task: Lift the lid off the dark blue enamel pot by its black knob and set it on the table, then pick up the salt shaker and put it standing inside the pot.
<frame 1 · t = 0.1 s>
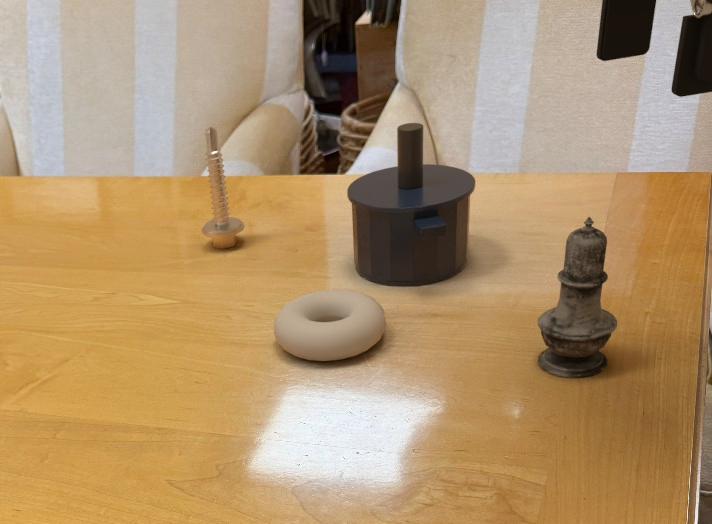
hand: (658, 73, 54), 23 cm above the table, tool pointing down, fingers open, 9 cm apart
donut: (330, 342, 82), on the table
lid: (410, 190, 89), point 7 cm above the table, touching pot
salt shaker: (571, 363, 74), on the table
screw: (225, 246, 104), on the table
pot: (410, 262, 93), on the table
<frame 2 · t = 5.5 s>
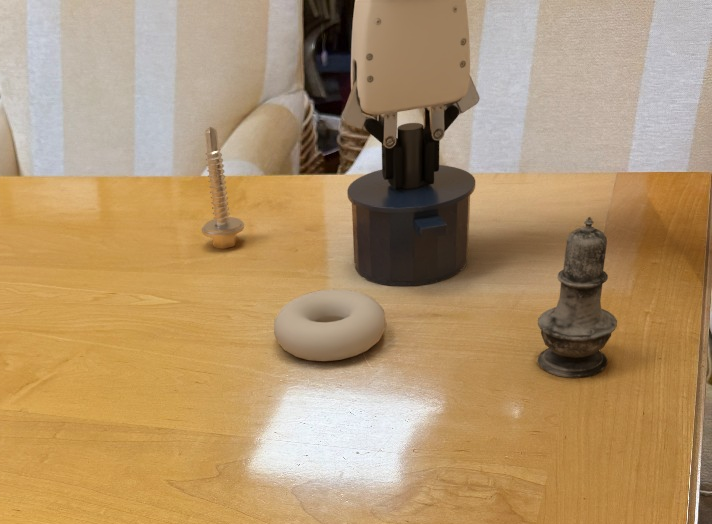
hand: (410, 181, 88), 8 cm above the table, tool pointing down, fingers closed on lid, 2 cm apart
lid: (410, 190, 89), point 8 cm above the table, touching gripper
everything else where it was.
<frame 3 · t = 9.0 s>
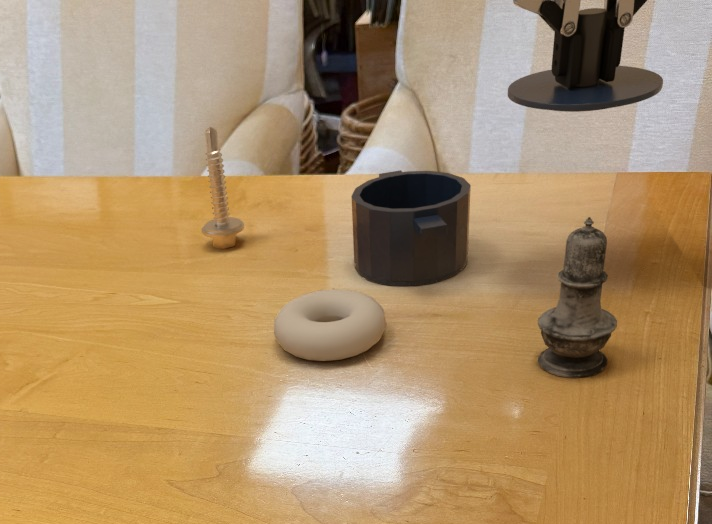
hand: (584, 79, 77), 17 cm above the table, tool pointing down, fingers closed on lid, 2 cm apart
lid: (582, 90, 77), point 16 cm above the table, touching gripper
everything else where it was.
when the fingers open (1 cm above the table, at t = 12.6 s): lid stays where it is, point 1 cm above the table.
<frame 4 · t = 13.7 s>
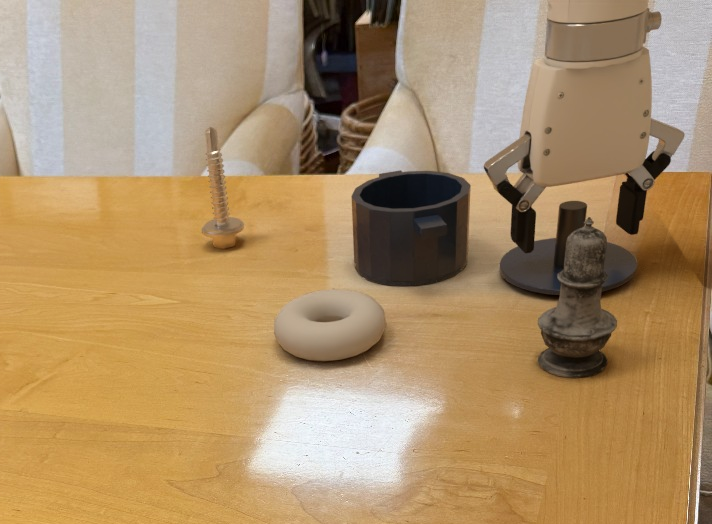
hand: (575, 238, 85), 3 cm above the table, tool pointing down, fingers open, 9 cm apart
lid: (566, 267, 86), point 1 cm above the table
everything else where it was.
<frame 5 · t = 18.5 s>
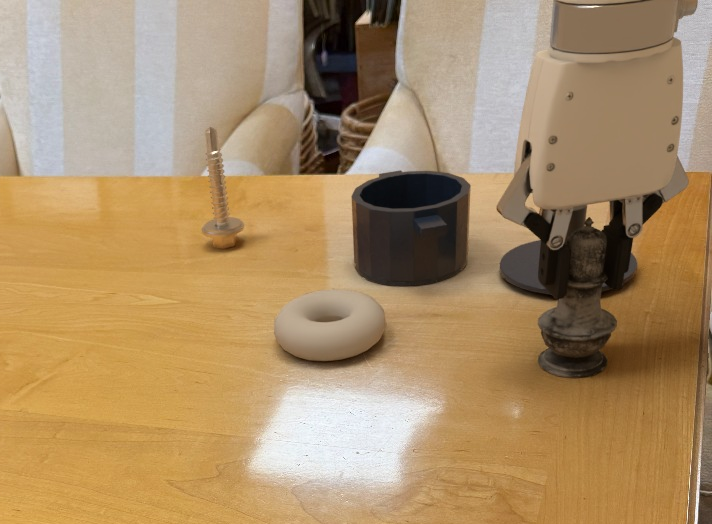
hand: (581, 284, 70), 7 cm above the table, tool pointing down, fingers closed on salt shaker, 3 cm apart
salt shaker: (572, 363, 74), on the table, touching gripper
everything else where it was.
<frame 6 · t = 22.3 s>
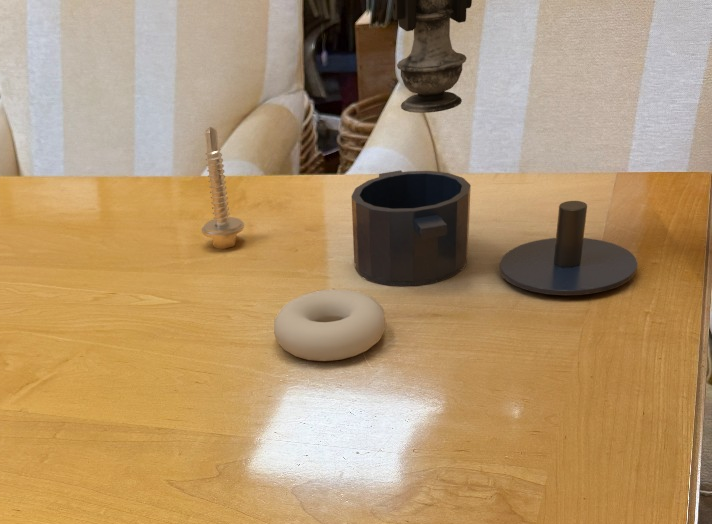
hand: (431, 21, 77), 23 cm above the table, tool pointing down, fingers closed on salt shaker, 3 cm apart
salt shaker: (431, 106, 81), point 16 cm above the table, touching gripper
everything else where it was.
when the fingers open (7 cm above the table, at t = 26.3 s): salt shaker stays where it is, resting on pot.
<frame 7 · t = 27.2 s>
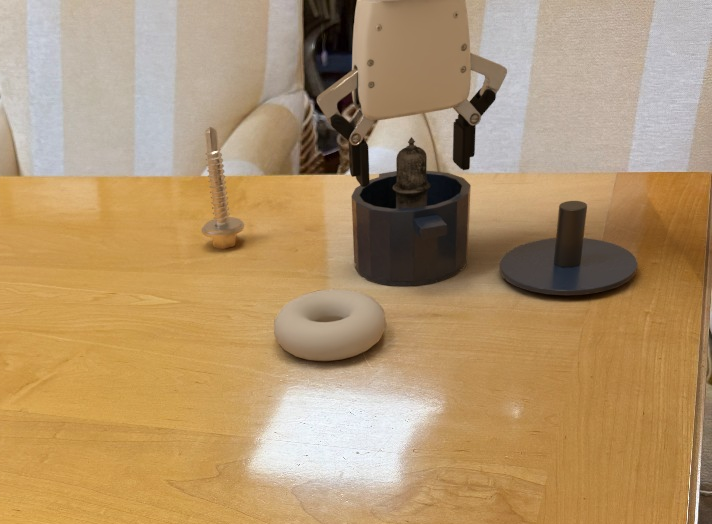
hand: (411, 174, 88), 9 cm above the table, tool pointing down, fingers open, 9 cm apart
salt shaker: (411, 259, 93), resting on pot
everything else where it was.
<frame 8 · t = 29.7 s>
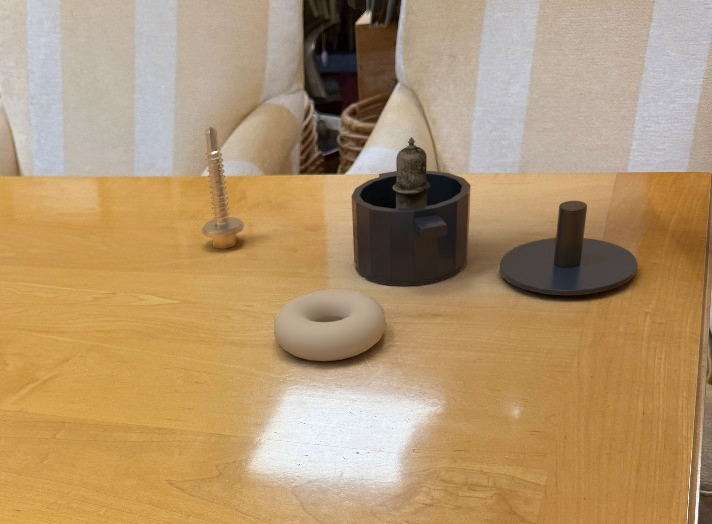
nothing on the table moved.
at the end: lid inside the target area (0.1 cm from its centre), point 0.6 cm above the table; salt shaker inside the target area in the pot (0.1 cm from its centre), point 0.3 cm above the pot's base; salt shaker tilted 0° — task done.
